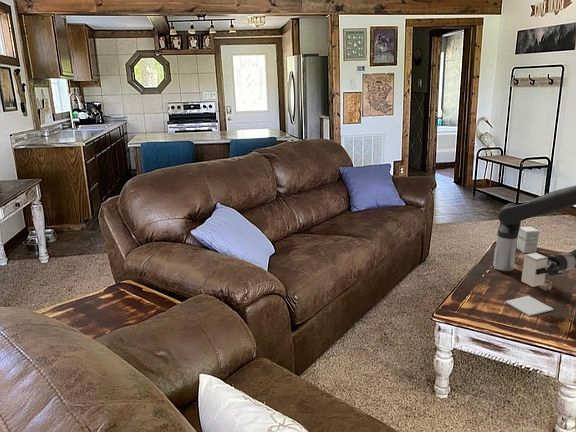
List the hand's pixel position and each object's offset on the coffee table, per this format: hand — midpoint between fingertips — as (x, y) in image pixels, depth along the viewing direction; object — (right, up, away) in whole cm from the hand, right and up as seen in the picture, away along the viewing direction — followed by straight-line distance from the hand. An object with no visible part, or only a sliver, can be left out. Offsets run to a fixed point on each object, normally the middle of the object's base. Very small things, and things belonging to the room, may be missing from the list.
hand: (530, 269), depth 192 cm
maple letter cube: (+18, -11, +21) cm, 30 cm away
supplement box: (+32, +3, +65) cm, 73 cm away
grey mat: (+3, -16, +6) cm, 18 cm away
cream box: (+2, -6, +3) cm, 7 cm away
